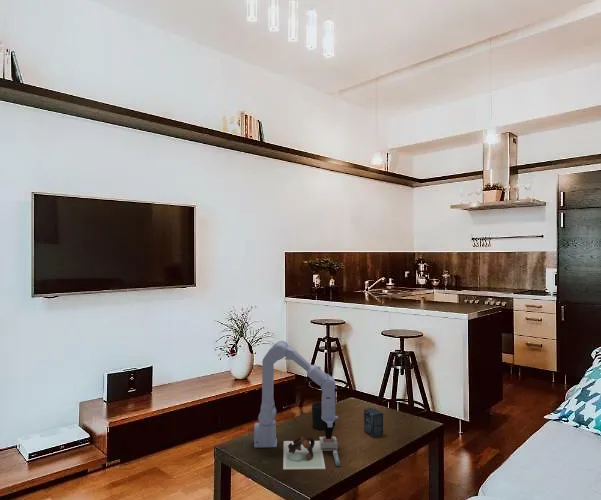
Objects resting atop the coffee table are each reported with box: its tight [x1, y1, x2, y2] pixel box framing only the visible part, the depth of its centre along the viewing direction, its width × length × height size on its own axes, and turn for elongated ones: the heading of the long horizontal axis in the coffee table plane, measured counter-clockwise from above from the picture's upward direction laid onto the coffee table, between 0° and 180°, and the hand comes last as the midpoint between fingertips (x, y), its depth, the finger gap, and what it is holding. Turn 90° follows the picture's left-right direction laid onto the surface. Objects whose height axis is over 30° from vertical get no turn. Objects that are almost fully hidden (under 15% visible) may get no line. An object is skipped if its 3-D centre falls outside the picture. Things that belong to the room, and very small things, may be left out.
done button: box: [324, 436, 333, 442], centre depth 189 cm, size 4×4×3 cm
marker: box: [332, 450, 341, 467], centre depth 176 cm, size 2×10×2 cm, turn 2°
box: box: [363, 407, 384, 438], centre depth 204 cm, size 8×6×11 cm
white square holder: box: [319, 436, 338, 452], centre depth 189 cm, size 7×7×3 cm
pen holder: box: [311, 401, 324, 430], centre depth 213 cm, size 9×9×10 cm
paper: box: [282, 440, 326, 471], centre depth 182 cm, size 16×26×1 cm, turn 2°
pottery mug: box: [288, 436, 316, 461], centre depth 181 cm, size 12×10×8 cm
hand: (328, 438), depth 189 cm, fingers closed, pressing on done button
